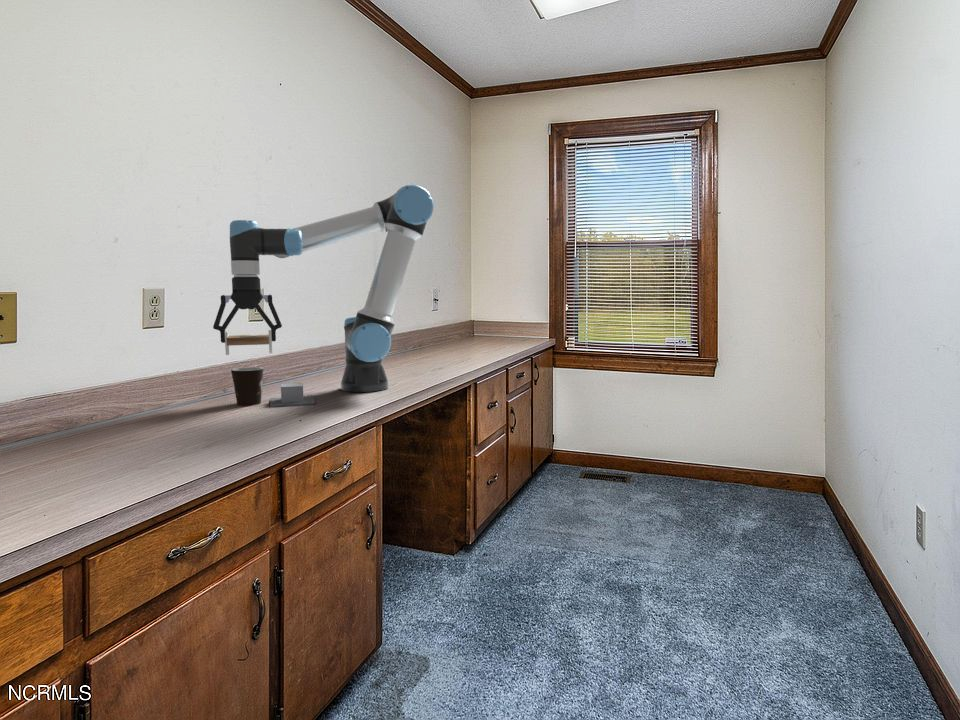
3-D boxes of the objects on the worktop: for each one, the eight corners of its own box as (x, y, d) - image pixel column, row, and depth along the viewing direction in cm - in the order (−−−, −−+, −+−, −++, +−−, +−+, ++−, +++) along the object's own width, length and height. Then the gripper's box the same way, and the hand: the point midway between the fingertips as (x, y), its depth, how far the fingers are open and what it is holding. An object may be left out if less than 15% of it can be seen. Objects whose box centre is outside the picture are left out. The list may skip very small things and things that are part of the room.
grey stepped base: (312, 397, 193) (312, 380, 192) (315, 404, 181) (314, 386, 181) (270, 399, 189) (269, 383, 189) (270, 407, 178) (269, 389, 177)
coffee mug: (254, 406, 179) (252, 371, 178) (226, 406, 180) (224, 370, 179) (275, 399, 190) (274, 365, 189) (249, 398, 192) (247, 365, 191)
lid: (269, 344, 180) (268, 336, 180) (226, 345, 177) (226, 337, 177) (269, 341, 191) (268, 333, 190) (229, 342, 187) (229, 334, 187)
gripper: (288, 276, 189) (291, 350, 191) (202, 276, 182) (206, 353, 184) (289, 276, 182) (292, 353, 184) (199, 276, 175) (203, 356, 177)
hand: (249, 353), depth 184 cm, fingers closed on lid, 11 cm apart
